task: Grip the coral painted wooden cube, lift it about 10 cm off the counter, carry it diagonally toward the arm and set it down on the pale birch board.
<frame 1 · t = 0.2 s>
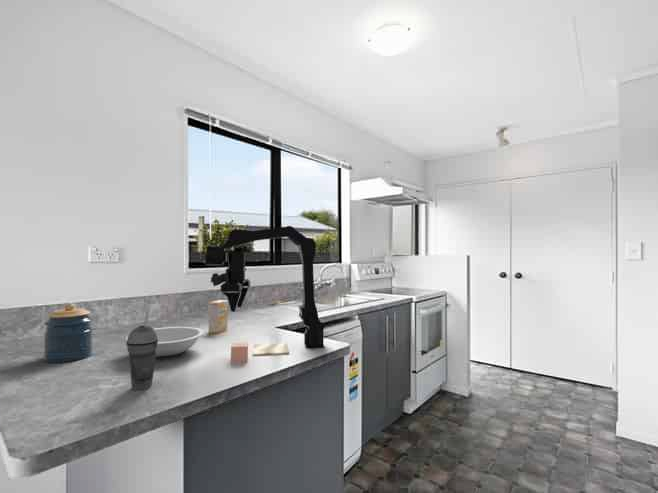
hand: (236, 309, 124), 14 cm above the worktop, tool pointing down, fingers open, 9 cm apart
coral cube: (239, 360, 113), on the worktop
soup bowl: (165, 354, 119), on the worktop
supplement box: (218, 331, 153), on the worktop
beverage cup: (141, 387, 90), on the worktop
canister: (68, 357, 115), on the worktop
birch board: (270, 349, 125), on the worktop
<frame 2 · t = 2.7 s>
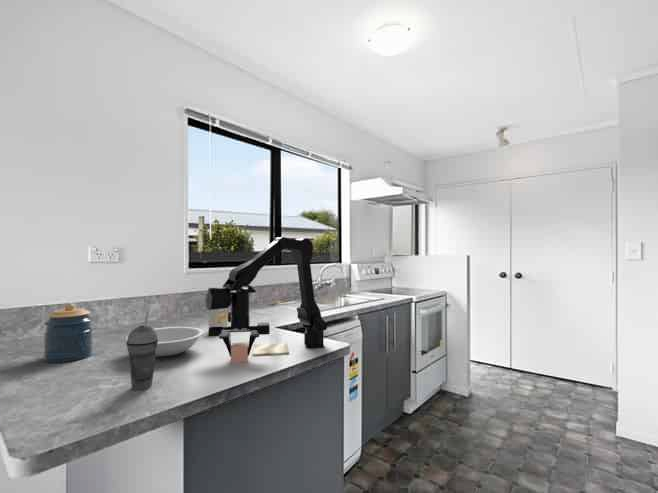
hand: (239, 356, 113), 1 cm above the worktop, tool pointing down, fingers closed on coral cube, 5 cm apart
coral cube: (239, 360, 113), on the worktop, touching gripper
everything else where it was.
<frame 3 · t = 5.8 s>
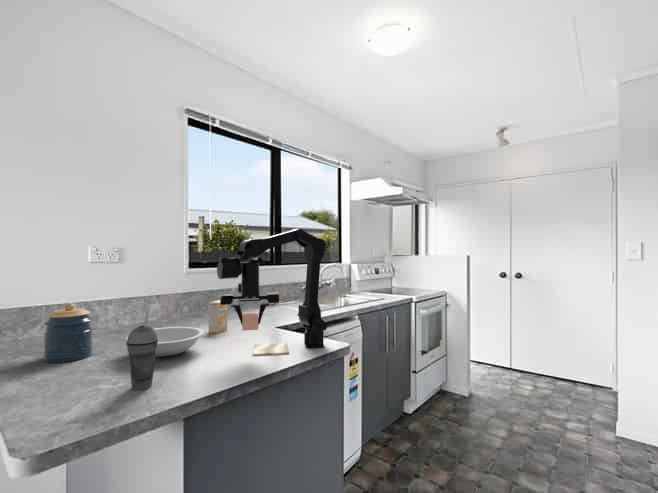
hand: (250, 324, 117), 11 cm above the worktop, tool pointing down, fingers closed on coral cube, 5 cm apart
coral cube: (250, 328, 117), point 9 cm above the worktop, touching gripper
everything else where it was.
when the fingers open (3 cm above the worktop, at t = 8.8 s): coral cube drops 1 cm, resting on birch board.
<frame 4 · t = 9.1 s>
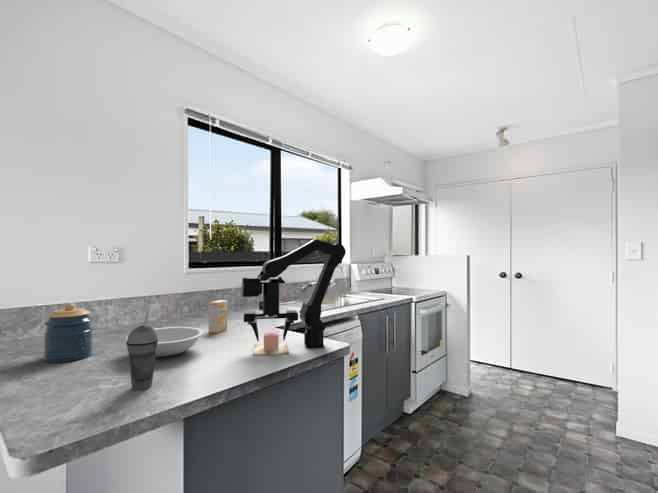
hand: (270, 340, 125), 3 cm above the worktop, tool pointing down, fingers open, 9 cm apart
coral cube: (270, 348, 125), point 1 cm above the worktop, touching birch board
everything else where it was.
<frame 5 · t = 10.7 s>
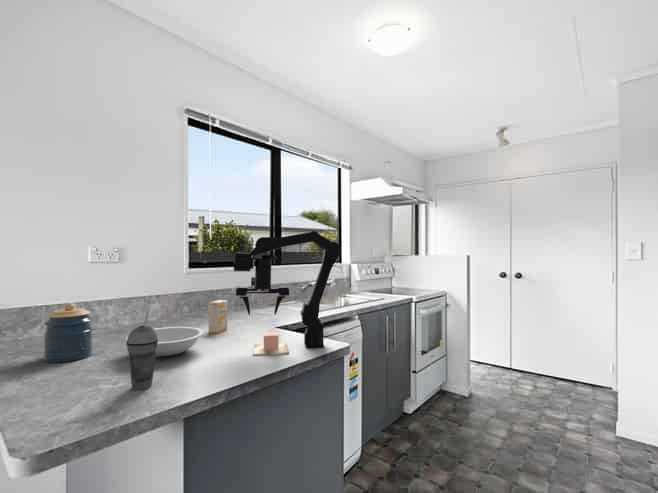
hand: (262, 314, 128), 12 cm above the worktop, tool pointing down, fingers open, 9 cm apart
nothing on the worktop moved.
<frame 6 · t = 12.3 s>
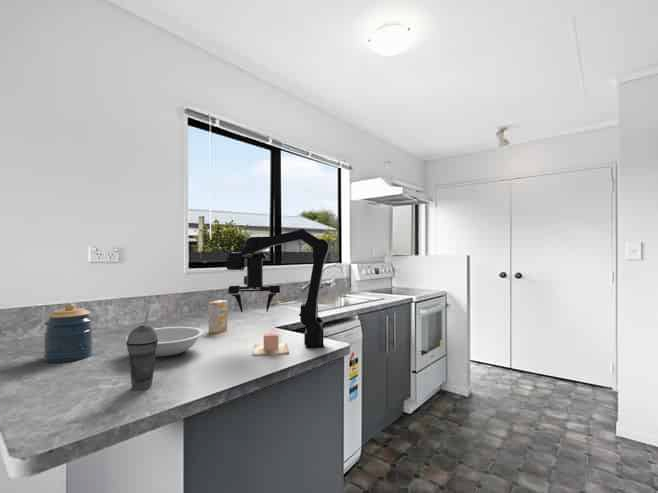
hand: (254, 312, 133), 12 cm above the worktop, tool pointing down, fingers open, 9 cm apart
nothing on the worktop moved.
at the end: coral cube inside the target area on the birch board (0.1 cm from its centre), point 0.6 cm above the birch board's base; coral cube tilted 0°; the gripper is holding nothing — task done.
